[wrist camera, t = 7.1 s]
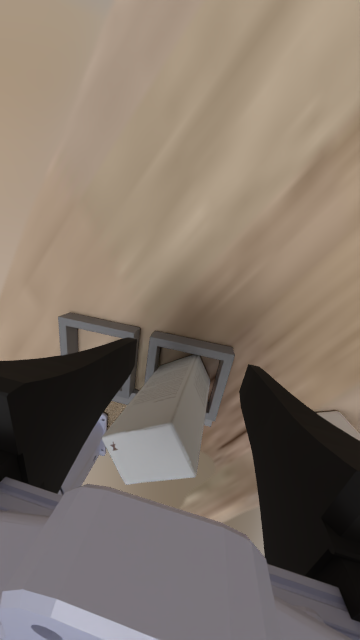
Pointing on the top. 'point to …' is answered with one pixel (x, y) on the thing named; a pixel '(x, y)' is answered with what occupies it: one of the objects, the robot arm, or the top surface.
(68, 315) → the gray open square frames
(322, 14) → the top surface
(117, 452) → the skincare box
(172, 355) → the top surface
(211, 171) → the top surface
